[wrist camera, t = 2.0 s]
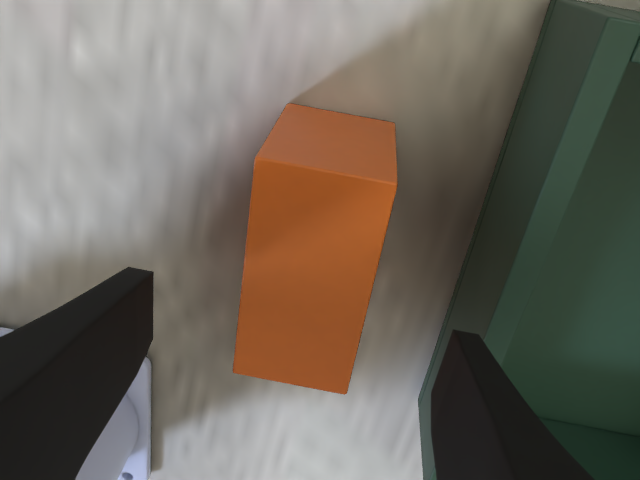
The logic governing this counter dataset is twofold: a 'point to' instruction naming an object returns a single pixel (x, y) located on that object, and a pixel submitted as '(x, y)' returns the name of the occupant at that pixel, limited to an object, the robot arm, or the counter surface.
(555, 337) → the bin
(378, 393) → the counter surface
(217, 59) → the counter surface
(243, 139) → the counter surface
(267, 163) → the orange block
